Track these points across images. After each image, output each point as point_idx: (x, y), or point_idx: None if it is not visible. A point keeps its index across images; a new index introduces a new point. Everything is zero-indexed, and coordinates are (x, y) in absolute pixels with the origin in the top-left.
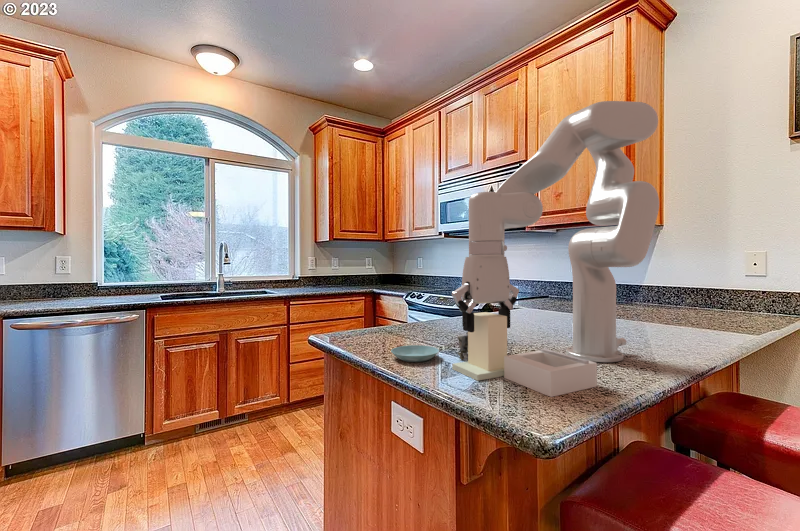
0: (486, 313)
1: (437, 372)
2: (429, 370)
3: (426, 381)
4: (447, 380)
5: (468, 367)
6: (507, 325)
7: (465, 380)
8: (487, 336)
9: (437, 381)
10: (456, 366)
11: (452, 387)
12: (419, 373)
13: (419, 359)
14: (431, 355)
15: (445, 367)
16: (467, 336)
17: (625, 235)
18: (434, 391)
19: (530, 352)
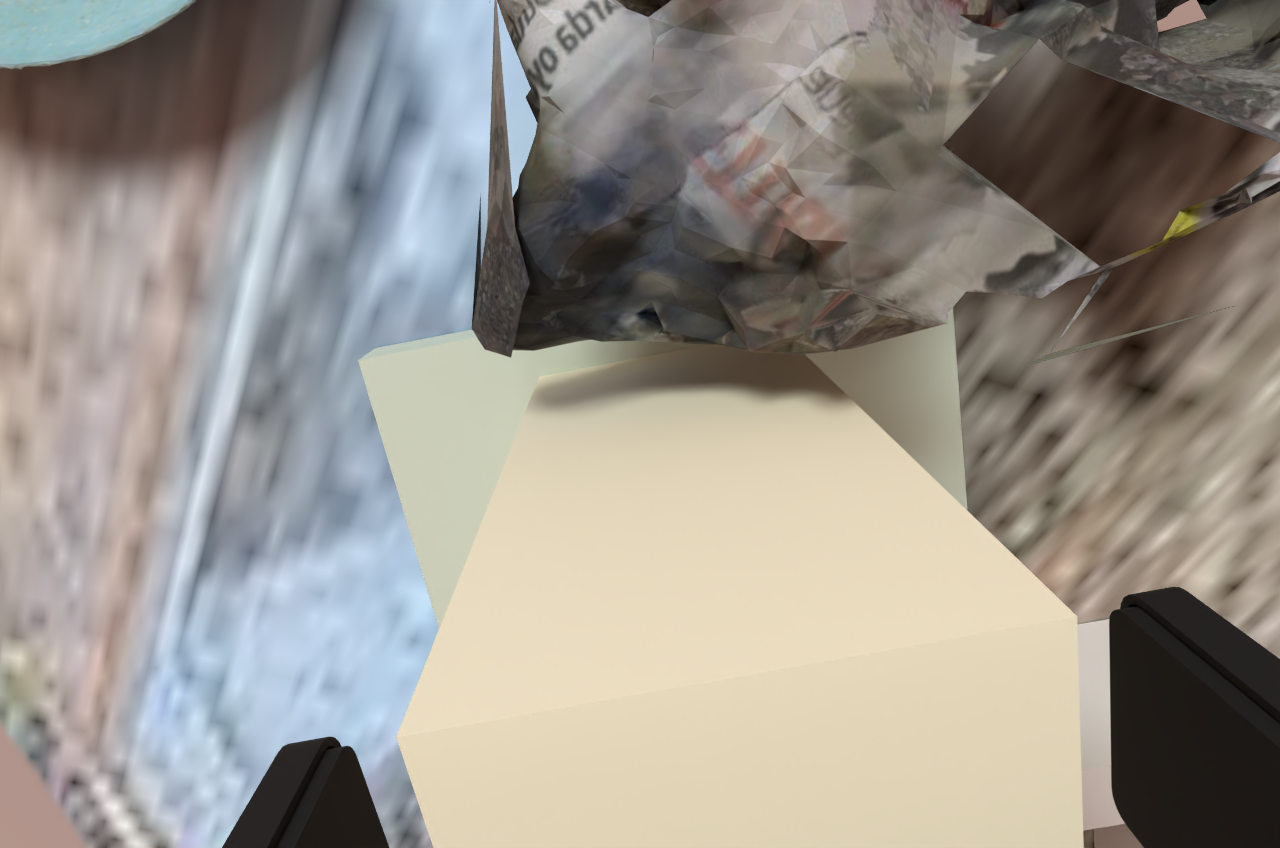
0: (922, 841)
1: (199, 404)
2: (129, 320)
3: (53, 606)
4: (238, 626)
5: (476, 526)
6: (1138, 839)
7: (387, 661)
8: None
9: (148, 628)
10: (384, 429)
11: (236, 768)
12: (13, 385)
13: (11, 19)
14: (154, 21)
15: (323, 266)
16: (592, 244)
17: None
18: (85, 805)
19: (1093, 781)
